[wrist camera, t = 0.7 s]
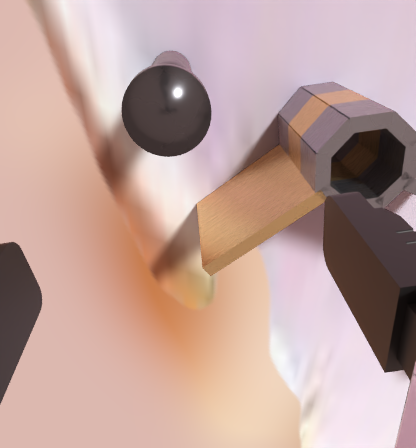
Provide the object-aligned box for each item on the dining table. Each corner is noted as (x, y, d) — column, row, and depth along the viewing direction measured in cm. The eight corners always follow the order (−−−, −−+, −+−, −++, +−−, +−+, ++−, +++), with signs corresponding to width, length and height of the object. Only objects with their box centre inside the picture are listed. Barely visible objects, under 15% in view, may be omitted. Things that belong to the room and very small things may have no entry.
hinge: (180, 104, 32) (181, 142, 23) (453, 64, 32) (563, 86, 23) (197, 211, 37) (204, 277, 28) (432, 177, 37) (515, 232, 28)
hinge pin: (139, 46, 30) (111, 73, 18) (194, 38, 30) (205, 59, 18) (150, 103, 32) (132, 162, 20) (201, 96, 32) (216, 150, 20)
